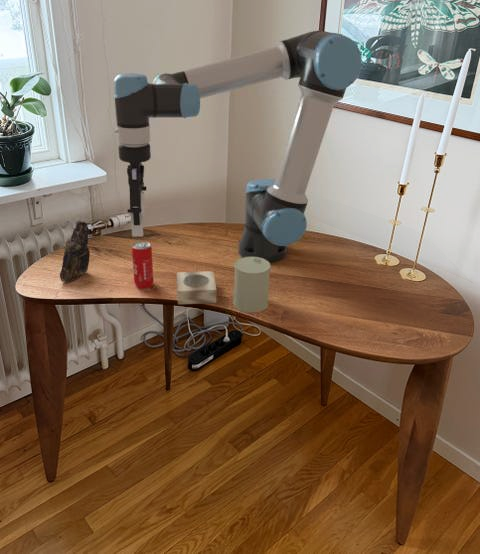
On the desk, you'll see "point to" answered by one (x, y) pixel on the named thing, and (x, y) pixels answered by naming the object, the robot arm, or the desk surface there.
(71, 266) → the statue
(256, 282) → the can
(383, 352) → the desk surface
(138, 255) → the beverage can
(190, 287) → the base
